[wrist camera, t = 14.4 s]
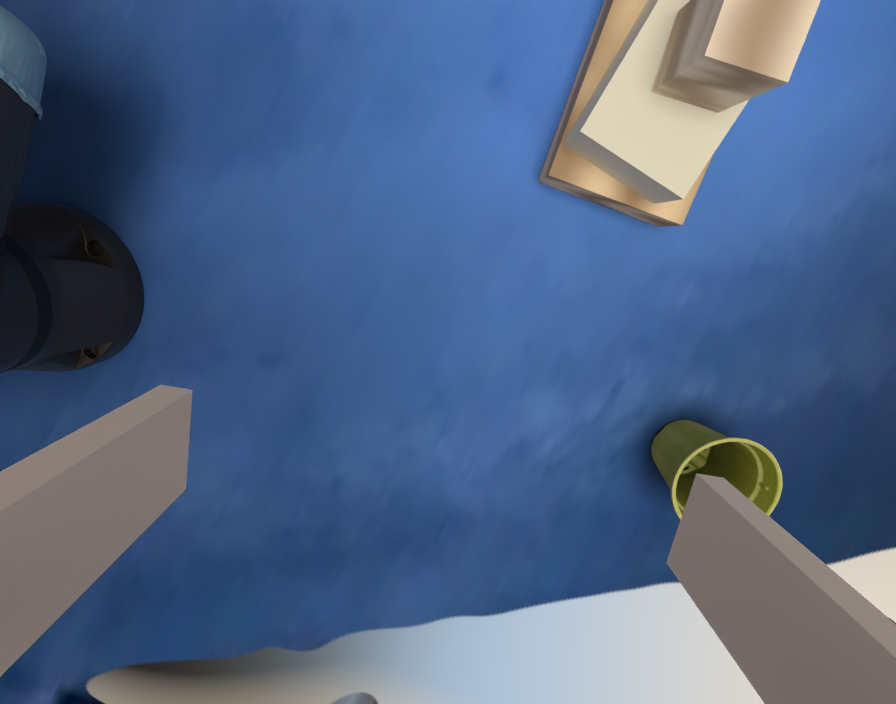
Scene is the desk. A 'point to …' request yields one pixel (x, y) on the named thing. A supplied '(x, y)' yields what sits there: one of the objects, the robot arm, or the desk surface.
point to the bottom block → (561, 162)
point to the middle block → (647, 117)
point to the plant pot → (715, 463)
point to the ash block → (732, 50)
